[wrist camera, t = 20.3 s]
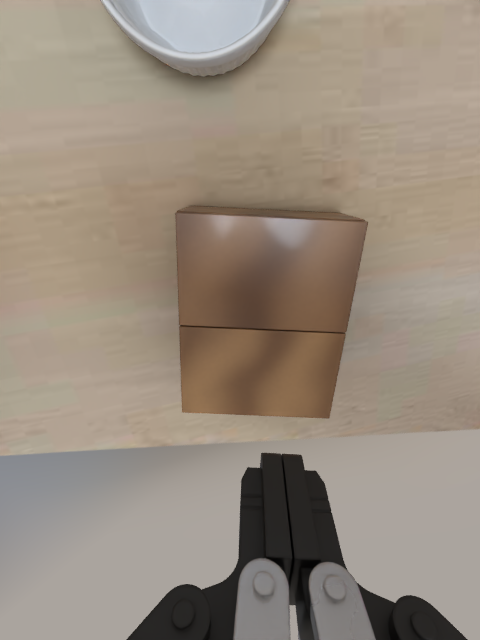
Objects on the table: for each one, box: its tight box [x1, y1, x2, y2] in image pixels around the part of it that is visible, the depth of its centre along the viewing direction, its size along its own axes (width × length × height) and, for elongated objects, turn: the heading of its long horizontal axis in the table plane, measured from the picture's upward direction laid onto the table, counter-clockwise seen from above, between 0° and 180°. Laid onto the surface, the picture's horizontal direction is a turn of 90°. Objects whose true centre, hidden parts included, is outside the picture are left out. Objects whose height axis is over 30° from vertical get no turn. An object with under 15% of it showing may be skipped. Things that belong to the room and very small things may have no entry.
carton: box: [176, 206, 368, 333], centre depth 29 cm, size 14×18×7 cm
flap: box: [179, 325, 346, 418], centre depth 28 cm, size 14×9×1 cm, turn 87°
